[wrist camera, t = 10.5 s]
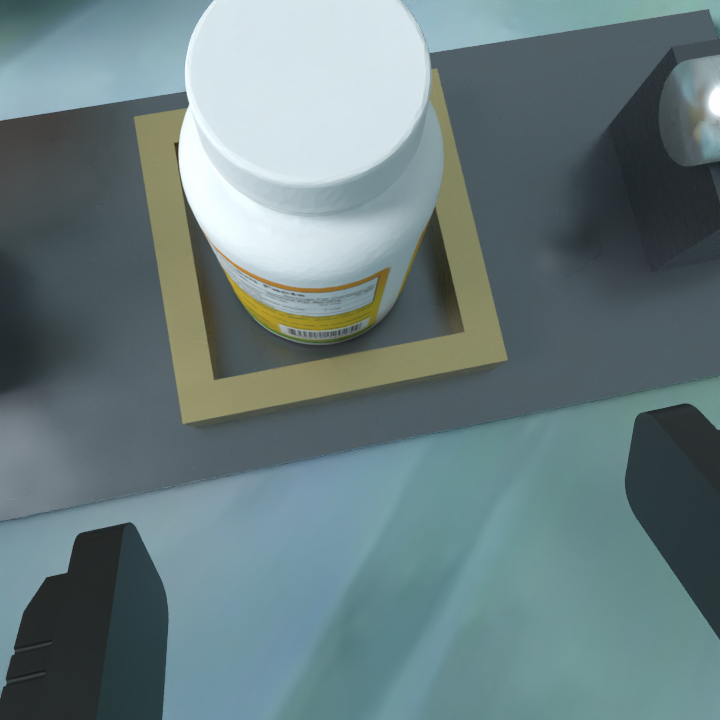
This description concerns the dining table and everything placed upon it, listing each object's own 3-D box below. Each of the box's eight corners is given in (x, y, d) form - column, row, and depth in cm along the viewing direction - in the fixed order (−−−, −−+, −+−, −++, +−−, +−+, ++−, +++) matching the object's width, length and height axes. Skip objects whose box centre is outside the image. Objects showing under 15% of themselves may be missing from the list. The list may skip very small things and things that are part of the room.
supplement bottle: (317, 144, 21) (308, -140, 11) (443, 260, 20) (545, 68, 11) (191, 261, 20) (63, 62, 10) (319, 385, 19) (309, 298, 10)
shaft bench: (-155, 553, 19) (-458, 603, 12) (-185, 169, 21) (-460, 5, 14) (810, 356, 21) (1061, 295, 14) (705, 27, 23) (878, -178, 16)
